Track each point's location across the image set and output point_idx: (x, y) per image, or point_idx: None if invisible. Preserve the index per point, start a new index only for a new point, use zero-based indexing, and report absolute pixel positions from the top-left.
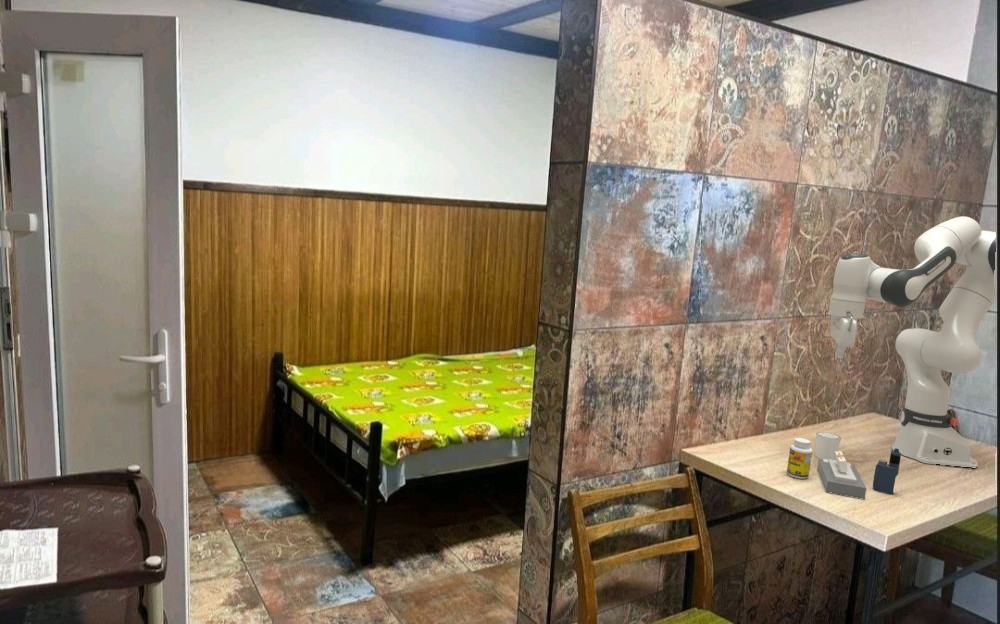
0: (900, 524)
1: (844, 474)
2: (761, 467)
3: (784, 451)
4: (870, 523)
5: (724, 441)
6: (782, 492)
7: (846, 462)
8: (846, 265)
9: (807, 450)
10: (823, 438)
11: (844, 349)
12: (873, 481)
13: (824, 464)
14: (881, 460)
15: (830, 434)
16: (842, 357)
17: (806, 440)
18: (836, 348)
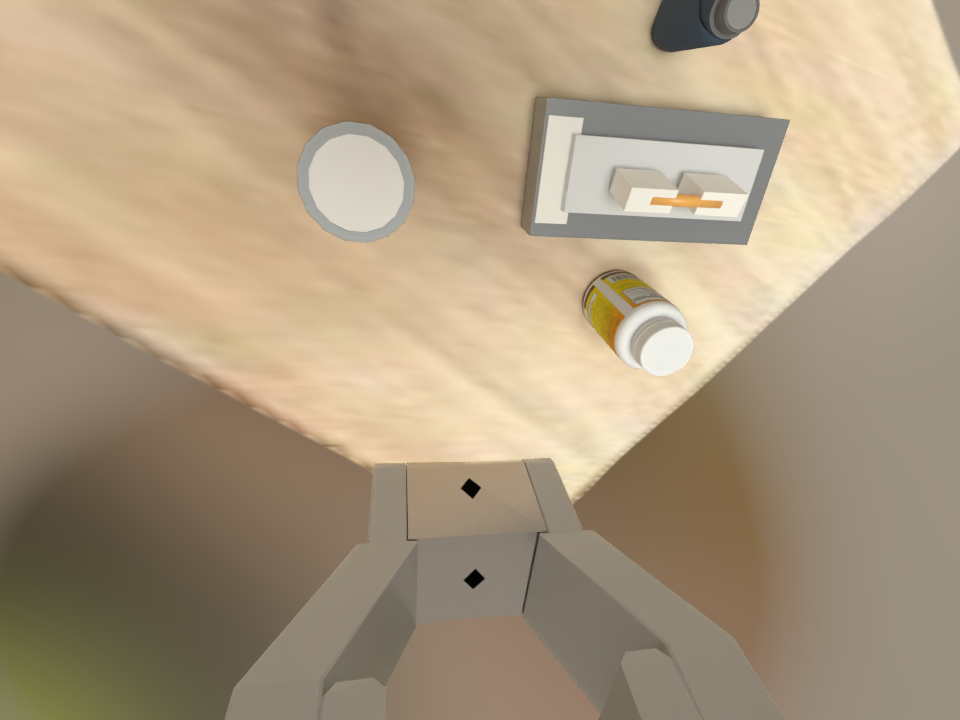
0: (932, 50)
1: None
2: (576, 386)
3: (380, 315)
4: (918, 151)
5: None
6: (743, 347)
7: (580, 141)
8: None
9: (685, 324)
10: (406, 215)
11: (666, 601)
12: (677, 50)
13: (589, 225)
14: (740, 19)
15: (328, 170)
16: (555, 470)
17: (667, 340)
18: (396, 663)
